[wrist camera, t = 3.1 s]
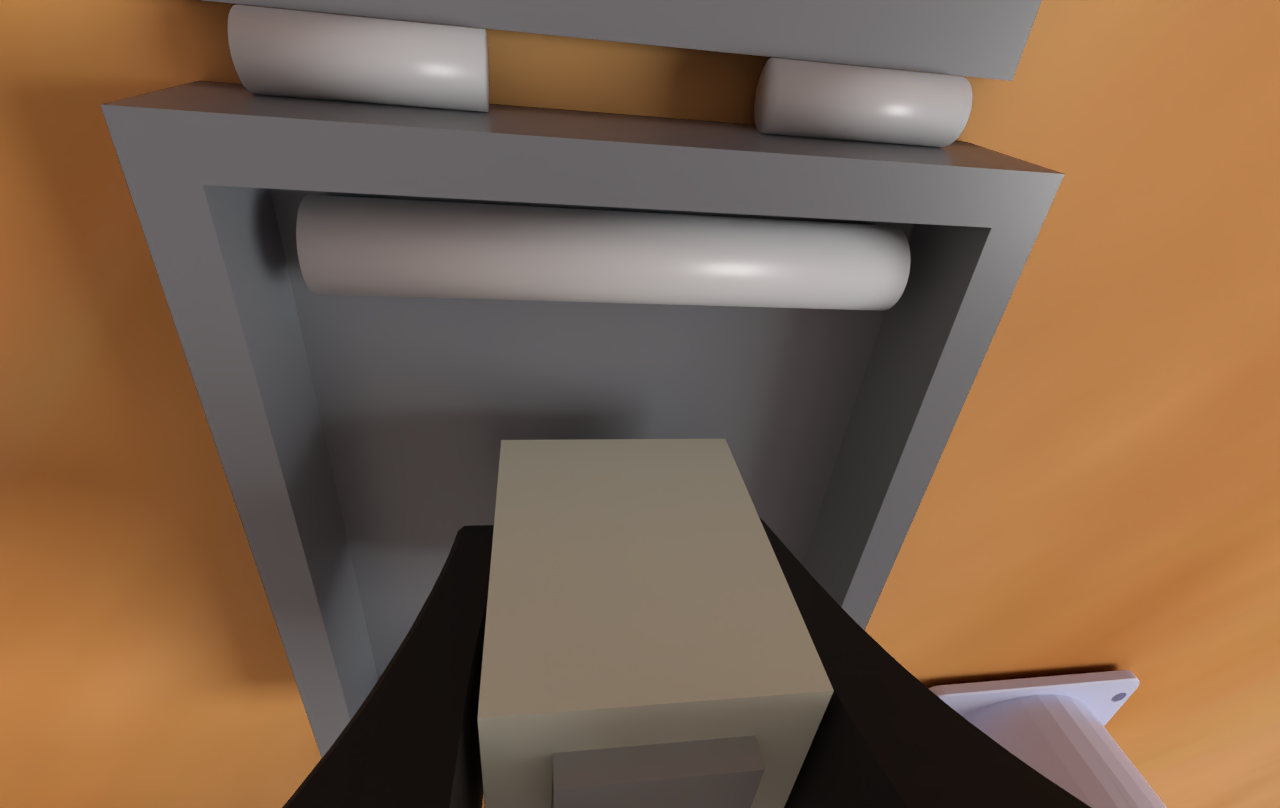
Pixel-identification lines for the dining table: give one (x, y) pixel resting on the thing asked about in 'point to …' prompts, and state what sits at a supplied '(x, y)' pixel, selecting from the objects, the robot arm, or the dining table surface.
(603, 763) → the block
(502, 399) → the case
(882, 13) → the lid panel
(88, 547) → the dining table surface
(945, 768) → the robot arm
